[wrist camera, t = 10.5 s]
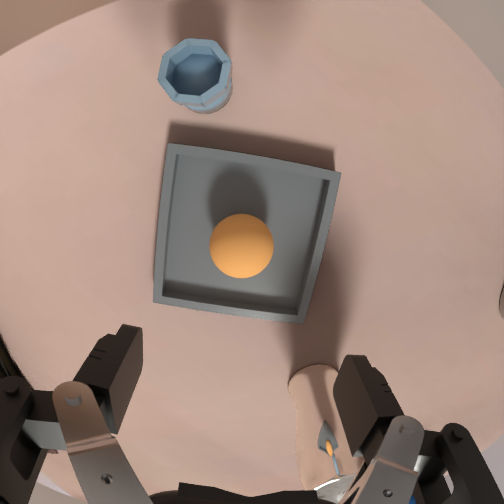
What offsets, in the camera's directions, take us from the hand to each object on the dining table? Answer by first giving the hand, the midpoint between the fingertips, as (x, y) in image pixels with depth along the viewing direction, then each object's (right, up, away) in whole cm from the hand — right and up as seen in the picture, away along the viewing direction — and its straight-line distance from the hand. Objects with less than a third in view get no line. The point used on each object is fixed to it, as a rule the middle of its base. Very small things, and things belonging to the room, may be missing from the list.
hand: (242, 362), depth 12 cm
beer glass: (+7, -11, +22) cm, 26 cm away
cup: (-3, +18, +12) cm, 22 cm away
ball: (0, +5, +13) cm, 14 cm away
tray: (-1, +6, +16) cm, 17 cm away
